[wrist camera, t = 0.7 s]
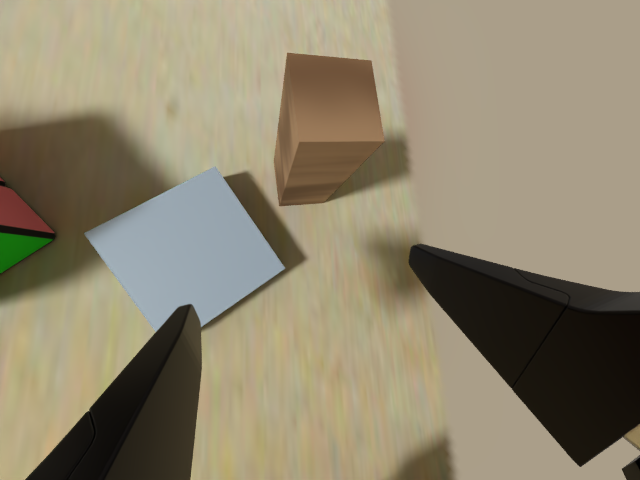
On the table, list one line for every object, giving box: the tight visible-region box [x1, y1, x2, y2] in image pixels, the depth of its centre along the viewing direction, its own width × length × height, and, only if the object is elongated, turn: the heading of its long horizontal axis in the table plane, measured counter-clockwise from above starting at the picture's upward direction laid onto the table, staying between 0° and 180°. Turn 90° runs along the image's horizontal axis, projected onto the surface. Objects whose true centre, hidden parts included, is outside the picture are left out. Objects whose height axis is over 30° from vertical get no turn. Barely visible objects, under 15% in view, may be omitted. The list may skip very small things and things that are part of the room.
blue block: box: [84, 167, 285, 332], centre depth 19 cm, size 10×10×3 cm
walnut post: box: [274, 53, 384, 206], centre depth 17 cm, size 4×4×12 cm
